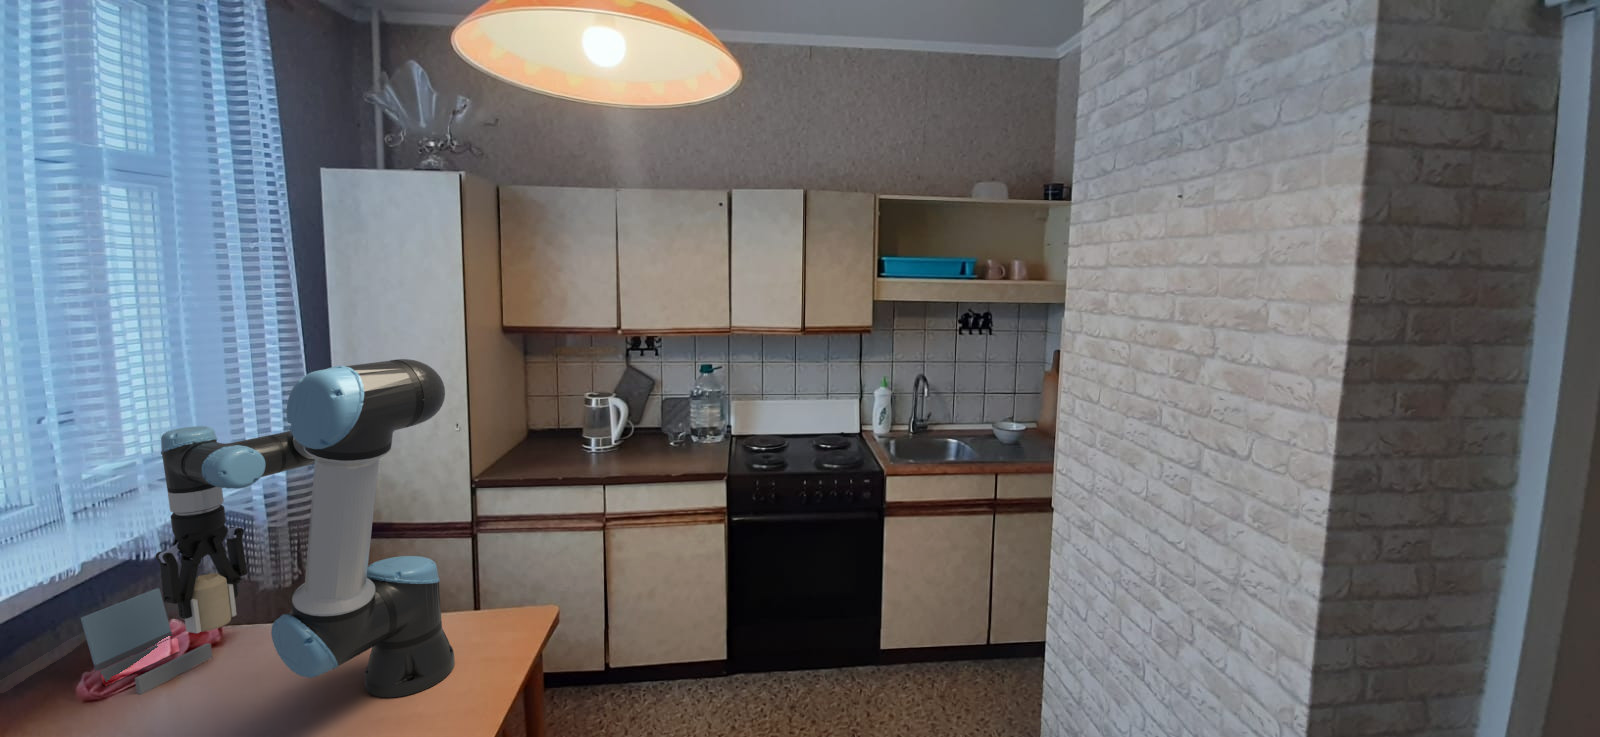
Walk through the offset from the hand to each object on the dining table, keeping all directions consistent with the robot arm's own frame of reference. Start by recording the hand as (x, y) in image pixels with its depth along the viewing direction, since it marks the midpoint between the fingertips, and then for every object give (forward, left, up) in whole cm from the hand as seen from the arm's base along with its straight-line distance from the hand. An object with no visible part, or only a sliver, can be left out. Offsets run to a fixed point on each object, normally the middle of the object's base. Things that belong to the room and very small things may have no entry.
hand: (212, 622), depth 127 cm
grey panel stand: (+11, +3, -10) cm, 15 cm away
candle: (0, 0, -1) cm, 1 cm away
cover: (+17, +3, -2) cm, 18 cm away
